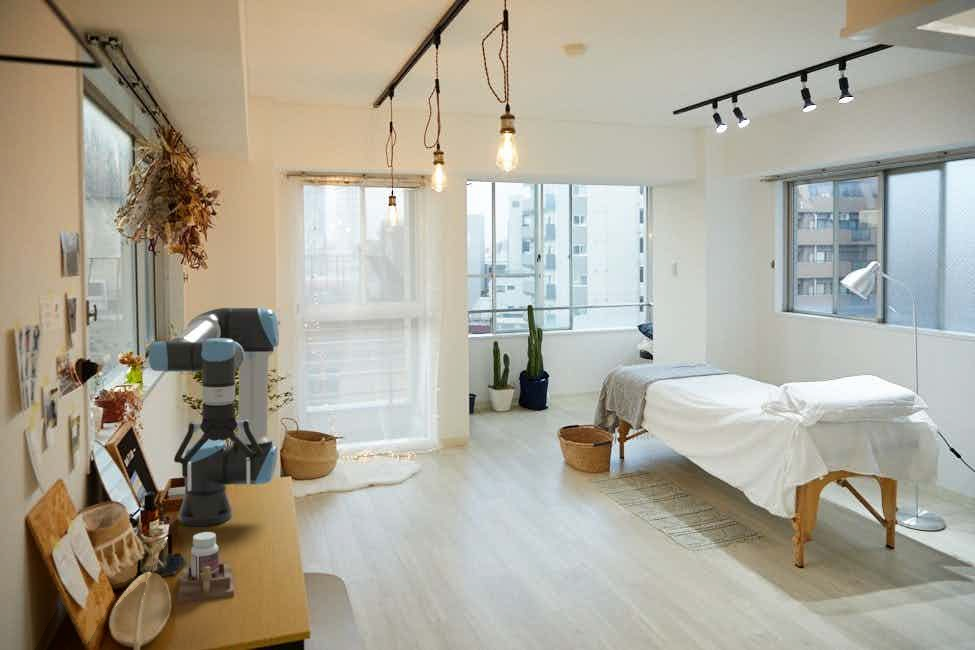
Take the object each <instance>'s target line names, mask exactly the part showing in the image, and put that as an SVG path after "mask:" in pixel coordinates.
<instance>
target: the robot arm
mask: <svg viewBox="0 0 975 650" xmlns="http://www.w3.org/2000/svg"><path fill="white" fill-rule="evenodd" d="M277 319H278V318H277V316H276V313H275V312H274V311H273V310H272V309H270V308H261V307H257V308H255V307H251V308H250V307H249V308H248V307H220V308H214V309H211V310H208V311H204V312H202V313H200V314H198V315H197V316H195V317H194V318H192V319H191V320H190V321H189V323H188V325H187V328H185V329H184V330H182V331H181V332H180V333H179V334H177V335H176V336H175V337H174V338H172V339H171V340H170V341H165V340H162V341H153V342H152V343H151V344H150V345H149V346H150V347H149V350H148V363H149V367H150V369H151V370H152V371H155V372H164V373H168V372H199V373H200V372H201V375H202V376H201V377H202V378H201V380H202V381H201V383H202V384H201V390H202V393H201V394H202V395H201V396H202V402H203V404H202V405H201V406H202V415H201V416H202V419H201V420H202V421H201V422H200V423H195V422H194V421H190V422H189V423H188V430H187V433H186V434H185V436H184V438H183V440H182V442H181V444H180V446H179V447H178V449H177V451H176V453H175V455H174V458H173V460H174V463H180V464H181V465H182V466H181V467H182V469H181V471H182V473H181V474H182V477H183V478H184V490H185V491H184V497H183V500H182V503H181V506H180V509H179V512H178V522H179V523H180V524H182V525H185V526H189V527H190V526H191V527H204V526H205V527H206V526H207V527H208V526H213V525H217V524H218V525H219V524H222V523H223V522H224V523H225V522H226V521H228V520H230V519H231V518H232V516H233V515H232V514H233V511H232V509H233V508H232V505H231V503H230V500H229V498H228V495H227V490H226V489H227V488H226V487H227V485H228V486H232V485H246V487H251V485H254V486H257V485H263V484H269V483H270V482H271V481H272V480H273V478H274V474H275V470H276V464H277V460H278V446H277V445H275V444H273V439H272V438H271V437H270V436H269V435H268V413H269V412H268V408H269V406H268V404H269V401H268V400H269V397H268V396H269V357H271V356H272V354H274V348H276V347H278V346H279V345H280V335H279V334H280V333H279V324H278V320H277ZM237 369H238V411H237V412H238V415H237V416H238V418H237V419H238V420H236V403H235V402H234V401H235V400H236V370H237ZM237 428H238V429H237ZM199 429H200V430H201V431H202V432H203V434H202V435H201V437H200V438H199V439H198V440H197V442H196V443H195V444H192V445H190V446H189V447H188V448H187V446H188V445H189V443H190V441H191V439H192V437H193V435H194V433H196V432H197V431H198V430H199ZM236 429H237V433H238V434H236V433H235V431H236ZM228 439H230V440H231V441H232V445H231V446H229V445H227V443H226V440H228ZM184 452H185V454H184ZM183 455H184V456H183Z"/></svg>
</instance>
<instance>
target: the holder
mask: <svg viewBox="0 0 975 650" xmlns="http://www.w3.org/2000/svg"><path fill="white" fill-rule="evenodd" d="M229 562H230V561H222V562H219V577H218V578H210V566H205V567H203V579H201V580H193V581H192V579H191V565H187V566H186V565H185V566H183V568H182V573H180V575H179V585H178V600H177V601H178V602H177V603H178V604H181V603H190V602H198V601H204V600H205V601H206V600H212V599H213V600H214V599H221V598H229V597H230V598H231V597H235V589H234V588H235V587H234V580H233V579H234V578H233V569H232V567H230V565H229V564H230V563H229Z"/></svg>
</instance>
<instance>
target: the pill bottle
mask: <svg viewBox="0 0 975 650" xmlns="http://www.w3.org/2000/svg"><path fill="white" fill-rule="evenodd" d="M192 545H193V546H192V548H191V549H190V563H191V565H190V566H191V579H192V581H193V580H201V579H203V567H205V566H210V578H218V577H219V563H220V562H219V561H220V560H219V556H220V555H219V545H218V544H217V535H216V533H215V532H213V531H212V532H211V531H204V532H199V533H197V534H194V535H193V537H192Z"/></svg>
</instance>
